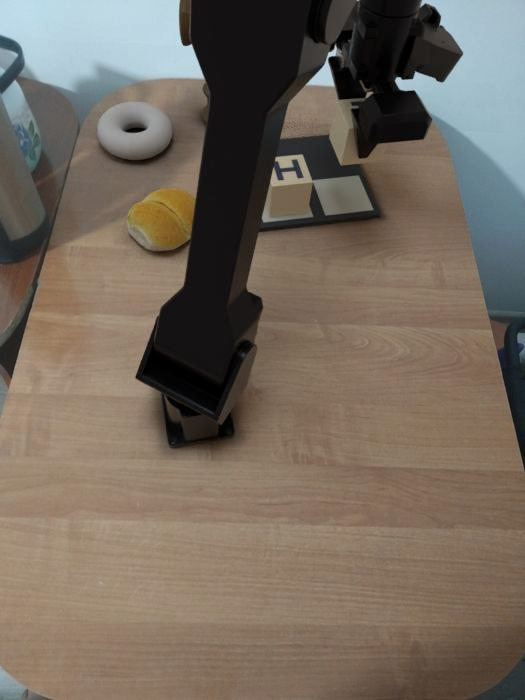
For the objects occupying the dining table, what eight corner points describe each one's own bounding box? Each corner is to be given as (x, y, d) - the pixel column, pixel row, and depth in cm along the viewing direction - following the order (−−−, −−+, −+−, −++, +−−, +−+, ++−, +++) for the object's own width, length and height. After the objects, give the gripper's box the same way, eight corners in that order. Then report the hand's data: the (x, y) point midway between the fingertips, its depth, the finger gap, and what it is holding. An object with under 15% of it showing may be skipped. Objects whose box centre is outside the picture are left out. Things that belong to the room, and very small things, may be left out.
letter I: (381, 161, 65) (392, 123, 61) (340, 165, 64) (348, 127, 60) (368, 134, 68) (378, 95, 63) (328, 137, 67) (336, 99, 63)
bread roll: (216, 225, 69) (216, 201, 66) (160, 263, 65) (157, 240, 62) (172, 190, 72) (169, 165, 68) (116, 225, 68) (110, 201, 65)
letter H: (307, 213, 70) (313, 181, 66) (269, 217, 69) (272, 185, 65) (298, 185, 73) (302, 153, 68) (260, 189, 72) (262, 157, 68)
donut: (164, 114, 80) (93, 122, 78) (163, 92, 77) (89, 100, 75) (180, 160, 75) (105, 170, 73) (179, 138, 72) (101, 148, 70)
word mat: (380, 217, 72) (381, 213, 71) (258, 231, 69) (258, 227, 68) (344, 136, 80) (345, 132, 79) (234, 146, 77) (234, 142, 76)
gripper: (511, 53, 49) (449, 191, 62) (433, -50, 58) (394, 89, 71) (391, 62, 47) (354, 201, 60) (330, -46, 56) (310, 95, 69)
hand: (355, 142), depth 65 cm, fingers closed on letter I, 5 cm apart
